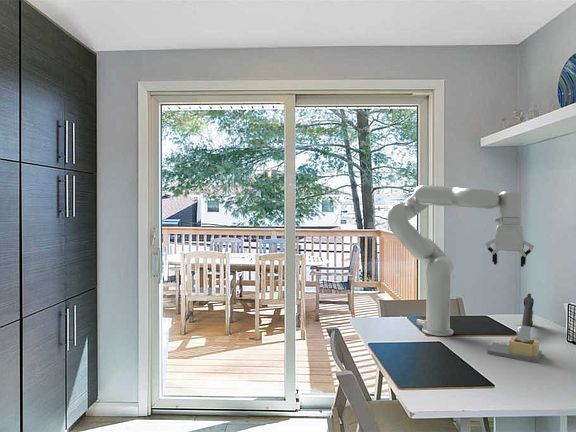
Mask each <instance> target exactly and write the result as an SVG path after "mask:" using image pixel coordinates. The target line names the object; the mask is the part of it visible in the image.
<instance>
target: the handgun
mask: <svg viewBox="0 0 576 432" xmlns="http://www.w3.org/2000/svg"><path fill="white" fill-rule="evenodd" d="M534 301H535V300H534V298H533V297H532V294H531V293H527V295H526V297H525V298H524V299H523V306H524V308H523V315H522V321H521V325H524V326H529V327H534V322H533V317H534V316H533V315H534V310H533V309H534V308H533V307H534V303H535V302H534Z"/></svg>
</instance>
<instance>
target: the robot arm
mask: <svg viewBox="0 0 576 432" xmlns="http://www.w3.org/2000/svg"><path fill="white" fill-rule="evenodd" d="M429 206H435V207H446V208H447V207H448V208H471V209H472V208H473V209H474V208H475V209H486V210H493V209H499V217H498V218H495V220H494V222H495V223H498V224H497V225H496V228H495V233H494V239H492V240H489V241H488V242H485V246H486V248H487V250H488V252H489V253H491V255H492V260H491V261H492V263H493V265H494V266H495V265H498V252H499V251H502V252H504V251H506V252H518V253H519V254H521V256H520V267H522V268H523V267H525V266H526V263H527V262H526V261H527V259H526V258H527V256H528V255H529V254H530V253H531V252H532V251H533V249H534V248H535V245H534V244H532V243H530V242H528V241H526V240H525V238H524V230H523V229H524V228H523V225H521V217H522V216H521V214H522V213H521V212H522V193H521V192H520V191H518V190H503V191H495V190H492V189H482V188H469V187H468V188H466V187H465V188H464V187H458V186H445V185H433V184H432V185H431V184H421V185H417V186H416V187H415V189H414V190H413V194H412V195H410V196H409V197H408V198H406V199H405V200H404V201H403V200H402V201H401V200H400V201H397V202H395V203H393V204H392V205H391V206H390V208H389V210H388V212H387V224H388V227H389V229H390V231H391V232H392V234H393V235H394V236H395V237H396V238H397V239H398V241H399V242H400V243H401V244H402V245H403V246H404V248H405V249H406V250H407V251H408V252H409V253H410V255H412V257H413V258H414V259H416V260H418V261H422V262H423V263H424V264H425V266H426V268H425V270H426V271H425V277H426V279H425V280H426V299H425V300H426V302H425V303H426V304H425V305H426V308H425V309H426V310H425V311H426V313H425V319H424V320H423V319H419V318H418V319H417V318H416V324H417V325H419V326H423V327H421V331H422V333H425V334H427V335H430V336H431V335H432V336H437V337H449V336H453V335H454V330H453V329H452V328H451V325H450V324H451V322H450V321H451V318H450V317H451V274H452V273H453V270H454V263H453V261H452V260H451V259H450V257H449V256H447V254H446V253H445V252H444V251H443V250H442V249H441V247H439V246H438V245H437V244H436V242H434V241H433V240H432V239H431V238H428V237H424V236H423V235H422V234H421V233H420V232H419V231H418V230H417V229H416V227H414V225H412V224H411V223H410V221H409V220H411V219H413V218H414V217H416V216H417V215H419V214H420V213H421V212H422V211H424V210H426V208H428V207H429ZM493 244H494V245H493ZM491 245H493V247H494V248H493V247H492V246H491ZM525 246H527V247H528V249H527V250H526V251H525V250H524V249H525Z"/></svg>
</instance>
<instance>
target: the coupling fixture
mask: <svg viewBox="0 0 576 432" xmlns="http://www.w3.org/2000/svg"><path fill="white" fill-rule="evenodd" d="M487 354H489V355H492V356H493V355H494V356H498V357H505V358H509V359H515V360H520V361H526V362H531V363H535V364H538V363H539V361H540V358H541V356H542V354H543V350H540V340H537V339H533V338H531V340H530V344H526V343H520V342H517V336H512V337H510V339H509V340H508V344H504V343H500V342H493V343H492V344H491V346H489V347H488V349H487Z"/></svg>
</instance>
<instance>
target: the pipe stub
mask: <svg viewBox="0 0 576 432" xmlns="http://www.w3.org/2000/svg"><path fill="white" fill-rule="evenodd" d="M531 329H532V328H531V326H530V327H529V326H524V325H522V324H521V325H520V324H518V325H516V337H517V342H520V343H526V344H530V340H531V339H532V337H531V335H532V334H531V332H532V331H531Z"/></svg>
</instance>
